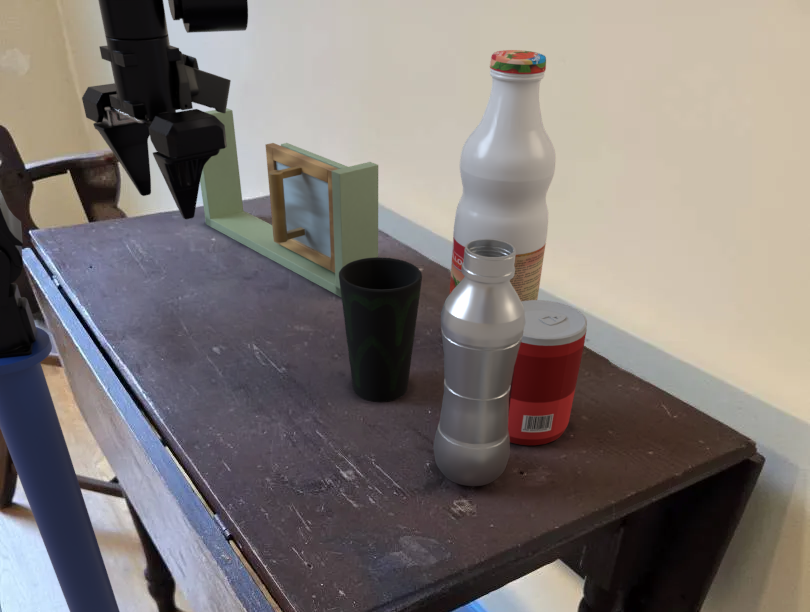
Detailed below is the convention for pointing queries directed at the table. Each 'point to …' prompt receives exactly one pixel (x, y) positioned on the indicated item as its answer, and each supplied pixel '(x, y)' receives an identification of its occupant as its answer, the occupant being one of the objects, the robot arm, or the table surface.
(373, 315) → the cup
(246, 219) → the window frame
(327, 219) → the sash
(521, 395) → the canned food
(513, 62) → the fruit juice
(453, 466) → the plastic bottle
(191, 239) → the table surface
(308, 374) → the table surface
